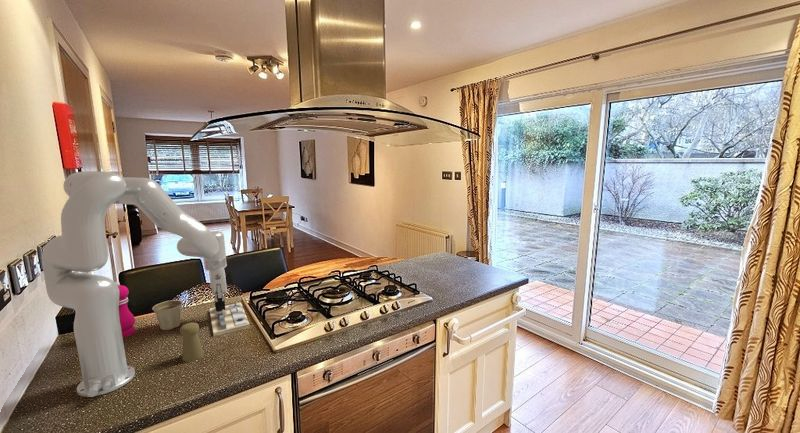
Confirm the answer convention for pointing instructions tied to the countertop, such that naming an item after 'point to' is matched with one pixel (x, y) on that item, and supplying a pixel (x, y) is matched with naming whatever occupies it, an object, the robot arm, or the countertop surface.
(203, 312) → the countertop surface
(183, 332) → the cork
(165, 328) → the flower pot
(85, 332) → the robot arm
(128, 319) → the pepper mill
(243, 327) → the gauge board
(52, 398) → the countertop surface
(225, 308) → the sliding point
